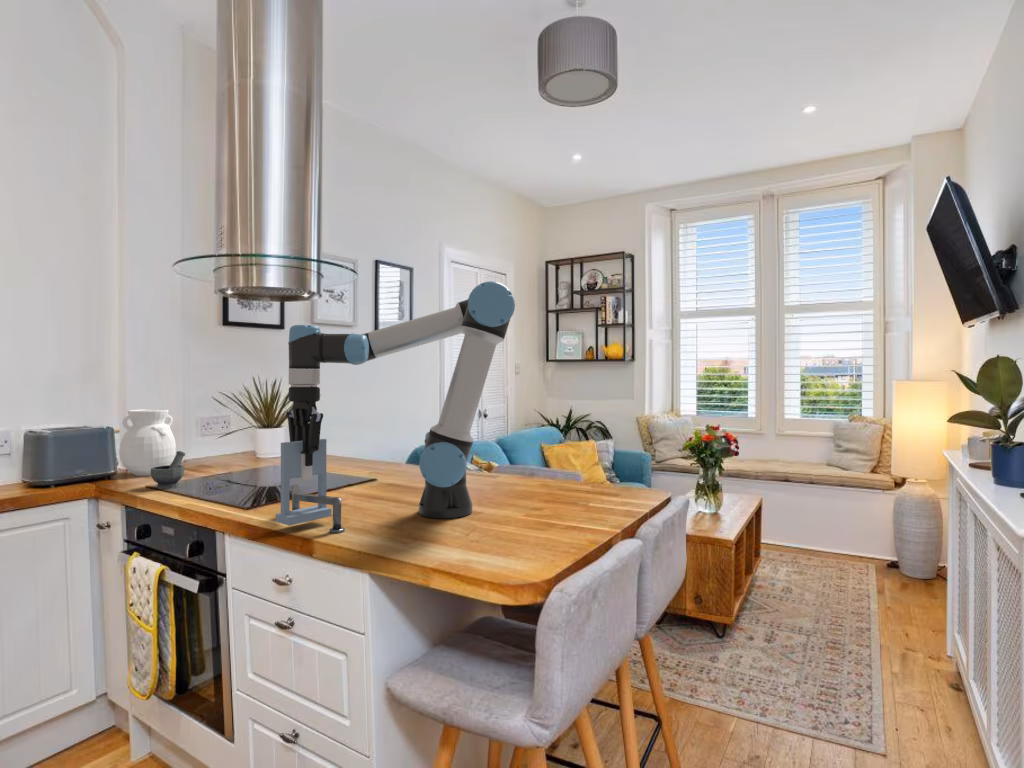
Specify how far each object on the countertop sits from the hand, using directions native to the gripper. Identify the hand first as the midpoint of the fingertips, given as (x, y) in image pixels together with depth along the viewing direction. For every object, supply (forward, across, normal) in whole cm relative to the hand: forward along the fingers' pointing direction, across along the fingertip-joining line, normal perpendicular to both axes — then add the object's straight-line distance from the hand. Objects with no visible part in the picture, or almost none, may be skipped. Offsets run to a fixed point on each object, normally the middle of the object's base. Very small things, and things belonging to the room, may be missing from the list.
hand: (304, 477), depth 144 cm
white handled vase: (+13, +116, -5) cm, 117 cm away
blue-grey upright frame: (+11, 0, 0) cm, 11 cm away
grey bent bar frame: (+13, +1, -4) cm, 13 cm away
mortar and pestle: (+13, +82, 0) cm, 83 cm away
